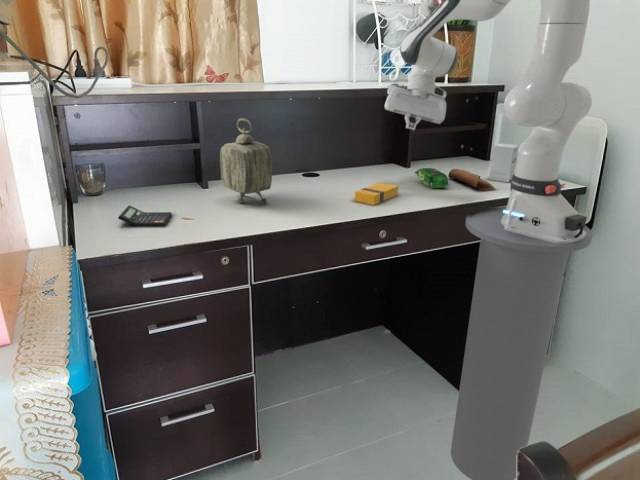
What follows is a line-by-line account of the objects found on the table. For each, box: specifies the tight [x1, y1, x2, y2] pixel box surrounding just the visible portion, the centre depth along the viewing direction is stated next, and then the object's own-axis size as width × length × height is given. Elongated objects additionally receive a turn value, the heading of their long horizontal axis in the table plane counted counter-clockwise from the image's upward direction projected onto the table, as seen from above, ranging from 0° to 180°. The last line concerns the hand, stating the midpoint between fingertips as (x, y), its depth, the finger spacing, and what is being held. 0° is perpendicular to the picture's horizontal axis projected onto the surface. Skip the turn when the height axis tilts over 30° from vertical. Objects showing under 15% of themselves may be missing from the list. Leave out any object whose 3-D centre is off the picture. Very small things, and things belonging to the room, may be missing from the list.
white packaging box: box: [488, 143, 520, 183], centre depth 185 cm, size 7×7×13 cm
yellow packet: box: [354, 182, 399, 206], centre depth 160 cm, size 3×7×15 cm
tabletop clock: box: [219, 117, 273, 204], centre depth 150 cm, size 14×9×25 cm, turn 45°
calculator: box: [117, 205, 173, 228], centre depth 136 cm, size 9×12×3 cm
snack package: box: [414, 167, 449, 189], centre depth 177 cm, size 7×16×5 cm, turn 12°
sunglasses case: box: [447, 168, 496, 192], centre depth 179 cm, size 18×7×7 cm, turn 19°
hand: (410, 128), depth 167 cm, fingers closed
